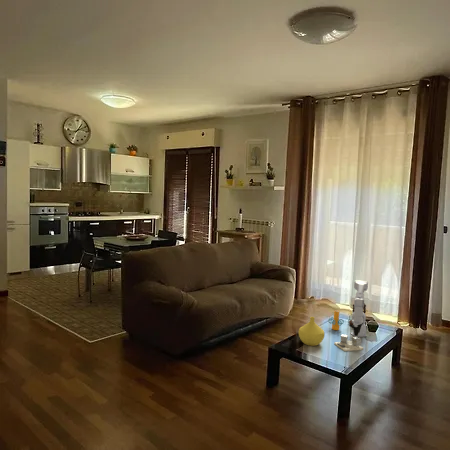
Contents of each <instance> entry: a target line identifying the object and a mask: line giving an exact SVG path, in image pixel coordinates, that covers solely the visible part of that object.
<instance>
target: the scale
mask: <svg viewBox="0 0 450 450" xmlns="http://www.w3.org/2000/svg"><path fill="white" fill-rule="evenodd" d="M340 342H341V341H336V342H335V341H334V343H333V344H334V345H335V346H336V347H338V348H340V350H341V351H344V352H351V351H363V350H364V347H363V346H362V345H360V346H354V345H352V340H349V339H348V340H347V343H346V344H345V343H340Z"/></svg>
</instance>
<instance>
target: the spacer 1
mask: <svg viewBox="0 0 450 450" xmlns="http://www.w3.org/2000/svg"><path fill="white" fill-rule="evenodd" d="M348 338H349V337H348V334H343V333H342V334H341V335H340V341H339V342H340V343H345V344H346V343H347V340H348V341H349V339H348Z"/></svg>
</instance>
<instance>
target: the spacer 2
mask: <svg viewBox="0 0 450 450" xmlns="http://www.w3.org/2000/svg"><path fill="white" fill-rule="evenodd" d="M351 339H352V340H351V341H352V345H354V346H361V344H362V343H361V342H362V339H361V337H355V336H354V337H351Z"/></svg>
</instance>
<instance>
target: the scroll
mask: <svg viewBox="0 0 450 450" xmlns="http://www.w3.org/2000/svg"><path fill="white" fill-rule="evenodd" d="M366 309H367V305H366V303H365V302H364V307H363V313H364V314H365V315H366V314H367V313H366V312H367V310H366ZM351 311H352V313H353V312H354V303H353V304H352V310H351ZM348 324H349V325H351V326H352V325H353V323H352V319H350V320H349V321H348Z"/></svg>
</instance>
